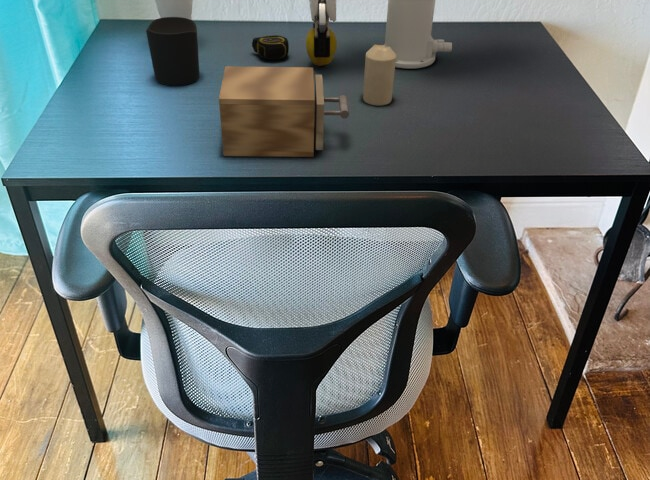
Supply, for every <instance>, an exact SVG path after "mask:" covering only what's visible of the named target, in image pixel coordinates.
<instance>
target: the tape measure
mask: <svg viewBox="0 0 650 480" xmlns="http://www.w3.org/2000/svg"><path fill="white" fill-rule="evenodd" d="M251 47H252V49H253V51H254V53H256V54H257V55H258V56H259V57H260V58H263V59H265V60H272V61H273V60H280V59H283V58H286V57H287V56H288V55H289V52H290V51H289V50H290V45H289V39H288V38H287V37H285V36H283V35H278V34H277V35H275V34H274V35H265V36H260V37H259V36H257V37H253V39H252V41H251Z"/></svg>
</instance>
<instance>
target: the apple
mask: <svg viewBox="0 0 650 480" xmlns="http://www.w3.org/2000/svg"><path fill="white" fill-rule="evenodd" d="M314 36H315V28H313V27H312V28H311V29H310V30H309V31H308V33H307V35H306V39H305V47H306V52H307V55H308V58H309V60H310V62H311V63H312V64H313V65H315V66H318V67H320V66H321V67H322V66H327V65H329V64H330V63H332V61H333V59H334V56H335V55H336V53H337V49H338V41H337V37H336V34H335V32H334V31H333V30H332V29H331V28H329V36H330V57H317V58H316V57H314Z"/></svg>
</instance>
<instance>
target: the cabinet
mask: <svg viewBox="0 0 650 480" xmlns="http://www.w3.org/2000/svg"><path fill="white" fill-rule="evenodd" d="M218 105H219V106H218V107H219V117H220V118H219V119H220V130H221V142H222V155H223V157H284V158H285V157H287V158H288V157H291V158H292V157H293V158H294V157H295V158H296V157H297V158H314V154H315V122H314V109H315V76H314V67H307V66H306V67H303V66H301V67H298V66H290V67H289V66H241V65H240V66H235V65H226V66H225V67H224V71H223V76H222V81H221V85H220V91H219V96H218Z"/></svg>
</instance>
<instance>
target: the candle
mask: <svg viewBox="0 0 650 480" xmlns="http://www.w3.org/2000/svg"><path fill="white" fill-rule="evenodd" d="M382 45H383V44H374V45H373V46H372V47H370V48H369V50H367V51H366V53H365V62H364V76H363V91H362V99H363V101H364V103H366V104H369V105H371V106H385V105H388V104H391V102H392V100H393V91H394V80H395V70H396V67H395V62H396V54H395V53H394V51H393V50H392V49H391V48H390V47H385V46H382Z"/></svg>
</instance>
